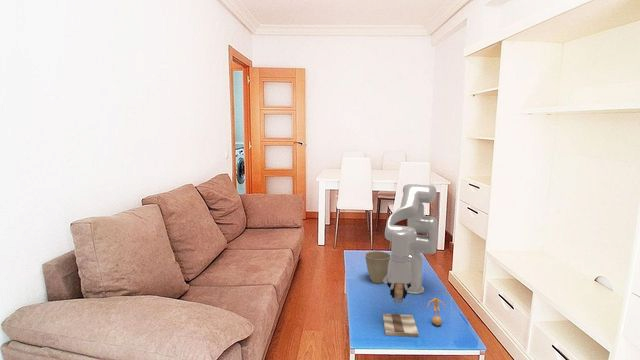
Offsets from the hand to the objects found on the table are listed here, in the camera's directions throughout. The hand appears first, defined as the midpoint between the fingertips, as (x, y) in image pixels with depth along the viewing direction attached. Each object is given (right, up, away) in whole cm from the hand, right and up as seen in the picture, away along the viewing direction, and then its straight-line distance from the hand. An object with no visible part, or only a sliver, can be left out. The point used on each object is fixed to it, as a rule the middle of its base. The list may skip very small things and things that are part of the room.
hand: (398, 296), depth 162 cm
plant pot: (-1, -8, +52) cm, 52 cm away
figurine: (+18, -14, +4) cm, 24 cm away
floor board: (+1, -14, +2) cm, 14 cm away
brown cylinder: (0, -2, 0) cm, 2 cm away
